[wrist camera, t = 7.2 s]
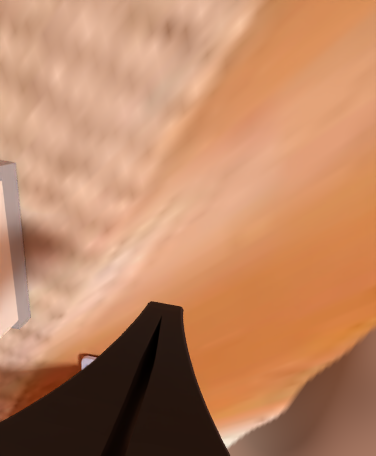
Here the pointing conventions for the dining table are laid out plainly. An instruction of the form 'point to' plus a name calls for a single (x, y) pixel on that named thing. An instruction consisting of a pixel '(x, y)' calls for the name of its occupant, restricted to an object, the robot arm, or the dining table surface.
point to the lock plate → (11, 254)
